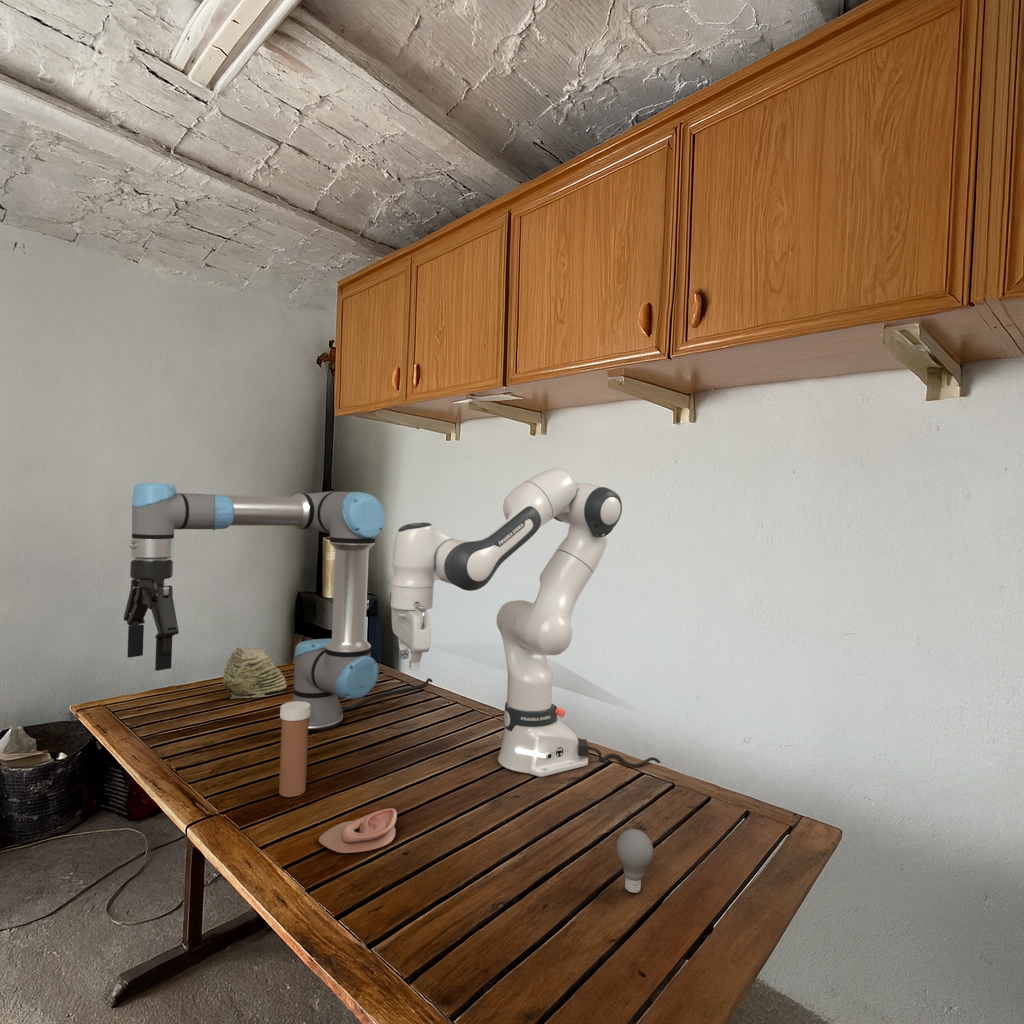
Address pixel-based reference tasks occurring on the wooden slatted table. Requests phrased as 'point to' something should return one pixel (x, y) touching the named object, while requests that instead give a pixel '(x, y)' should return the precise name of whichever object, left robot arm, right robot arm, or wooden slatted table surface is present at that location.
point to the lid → (295, 711)
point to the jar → (293, 757)
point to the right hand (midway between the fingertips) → (409, 663)
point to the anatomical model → (362, 833)
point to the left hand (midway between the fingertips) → (148, 662)
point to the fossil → (252, 674)
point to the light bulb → (634, 857)
